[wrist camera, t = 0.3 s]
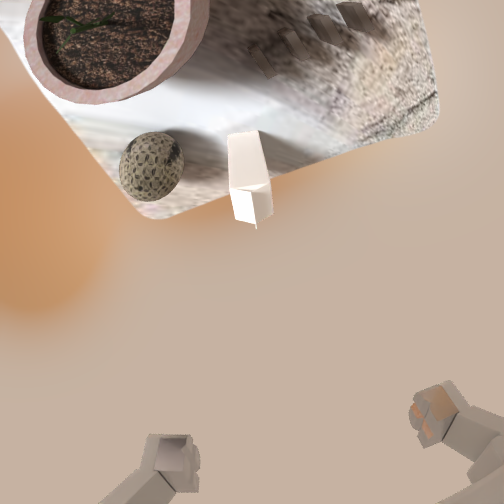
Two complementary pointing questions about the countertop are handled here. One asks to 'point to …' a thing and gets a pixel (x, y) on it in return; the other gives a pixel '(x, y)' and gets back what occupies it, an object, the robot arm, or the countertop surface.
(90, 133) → the countertop surface
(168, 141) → the decorative egg
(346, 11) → the domino
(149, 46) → the plant pot
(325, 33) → the domino
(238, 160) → the milk
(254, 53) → the domino
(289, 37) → the domino
